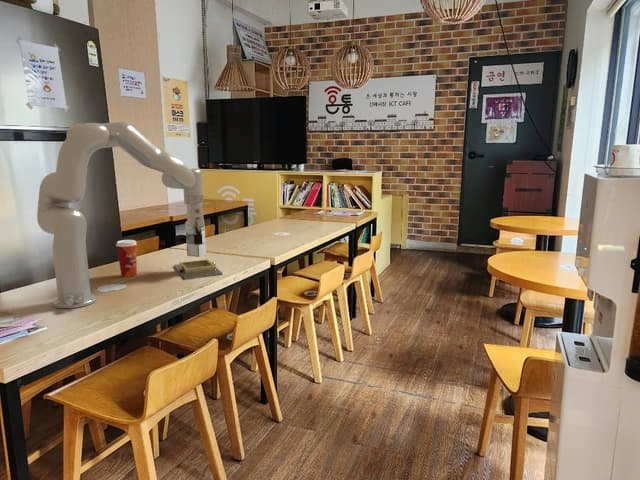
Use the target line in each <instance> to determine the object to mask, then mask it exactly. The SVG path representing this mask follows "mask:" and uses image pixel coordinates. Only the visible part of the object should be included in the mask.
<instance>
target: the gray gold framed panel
mask: <svg viewBox="0 0 640 480" xmlns="http://www.w3.org/2000/svg"><path fill="white" fill-rule="evenodd" d="M173 267H174V268H175V270H176V271H177V272H178V273H179V274H180V276H181V277H182V278H183V280H190V279H191V280H192V279H200V278H207V277H215V276H222V275H223V272H222V271H221V270H220V269H219V268H217V265H216V261H210V260H209V259H200V260H191V261H182V262H179V263H178V264H173Z"/></svg>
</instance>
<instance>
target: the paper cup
mask: <svg viewBox="0 0 640 480" xmlns="http://www.w3.org/2000/svg"><path fill="white" fill-rule="evenodd" d="M137 244H138V243H137V241H136V240H134V239H123V240H122V239H121V240H118V241H117V242H116V244H115V246H116V248H117V249H116V250H117V256H118V261H119V268H120V274H121V277H122V278H133V277H136V276H137V272H138V271H137V269H138V268H137V266H138V265H137Z"/></svg>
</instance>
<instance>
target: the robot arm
mask: <svg viewBox="0 0 640 480" xmlns="http://www.w3.org/2000/svg"><path fill="white" fill-rule="evenodd" d="M105 148H120V149H122V150H123V151H124V152H125V153H126V154H128V155H129V156H130V157H132V159H134V160H135V161H136V162H137V163H139V164H140V165H142V166H143V167H146V168H148V169H151V170H154V171H158V172H161V173H162V175H161V182H162V184H163V185H164V186H165V187H167V188H169V189H177V190H183V203H184V205H186V220H187V221H189V222H190V225H191V228H193V229H194V234H195V235H194V244H195V245H197V244H202V230H201V228H204V227H205V220H204V217H205V216H204V211H203V210H204V209H203V204H204V190H203V189H204V187H203V172H202V170H201V169H199V168H190V167H188V165H187V164H186V163H184V162H183V161H181V160H180V159H178V158H177V157H176V156H173V155H171V154H170V153H168V152H167V151H165V150H163V149H162V148H159V147H158V146H157V145H156V144H154V143H153V142H152V141H151V140H149V139H148V137H146V136H145V135H144V134H143V133H142V132H141V131H139V130H138V128H136V127H135V126H134V125H132V124H130V123H129V122H125V121H121V122H120V121H119V122H106V123H104V122H103V123H98V122H86V123H75V124H73V125H70V127H69V128H68V129H67V132H66V138H65V140H64V142H63V143H62V144H61V147H60V149H59V152H58V157H57V162H56V169H55V172H51V173H49V174H47V175H46V176H44V178H42V181H41V183H40V186H39V191H38V203H37V213H36V214H37V215H36V219H37V224H38V226H39V228H40V229H41V230H42V231H43V232H45V233H48V234H51V235H53V241H52V256H53V257H52V258H53V264H54V266H53V267H54V272H55V273H54V274H55V280H56V281H55V282H56V290H57V297H58V298H56V299H54V300H53V302H52V303H53V307H54V308H57V309H76V308H82V307H85V306H89V305H92V304H93V303H95V302H96V301H97V295H95V294H93V293H92V292H91V283H90V282H91V281H90V271H89V262H88V261H89V260H88V254H87V253H88V252H87V243H86V241H87V229H88V228H87V219H86V218H85V215H84V214H83V213H82V212H81V211H79V210H78V209H76V208H75V207H70V204H75V203H79V202H80V201H81V200H83V198H84V197H85V194H86V185H87V184H86V183H87V172H88V165H89V161H90V159H91V157H92V156H93V154H94V153H95V152H96V151H98V150H101V149H105ZM195 223H196V224H197V227H195Z"/></svg>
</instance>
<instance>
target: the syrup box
mask: <svg viewBox="0 0 640 480" xmlns="http://www.w3.org/2000/svg"><path fill="white" fill-rule="evenodd" d="M184 223H185V224H184V225H185V236H186V237H185V240H186V241H185V242H186V255H187V257H203V256H204V255H207V251H206V230H205V226H204V228H201V230H202V244H197V245H195V244H194V235H195V234H194V229H193V228H191V225H190V222H189V221H185V222H184ZM195 227H197V224H196V223H195Z"/></svg>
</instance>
